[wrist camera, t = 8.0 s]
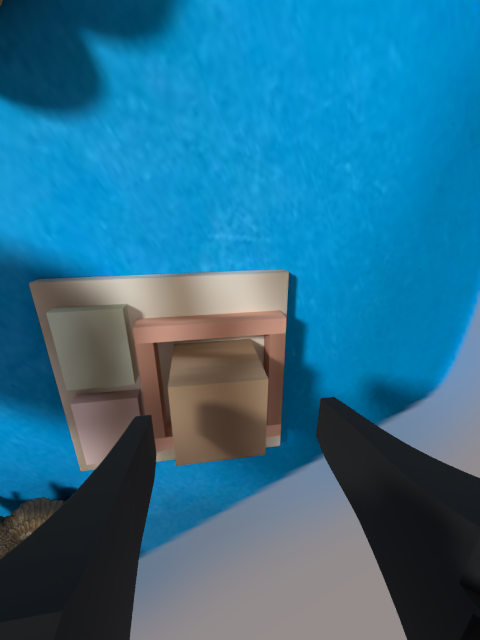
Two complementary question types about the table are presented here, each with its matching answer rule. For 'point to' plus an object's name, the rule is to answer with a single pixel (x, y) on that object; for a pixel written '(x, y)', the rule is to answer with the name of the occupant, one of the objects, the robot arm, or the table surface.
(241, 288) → the puzzle board
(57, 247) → the table surface
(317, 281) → the table surface
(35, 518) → the eagle figurine
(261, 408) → the walnut block
